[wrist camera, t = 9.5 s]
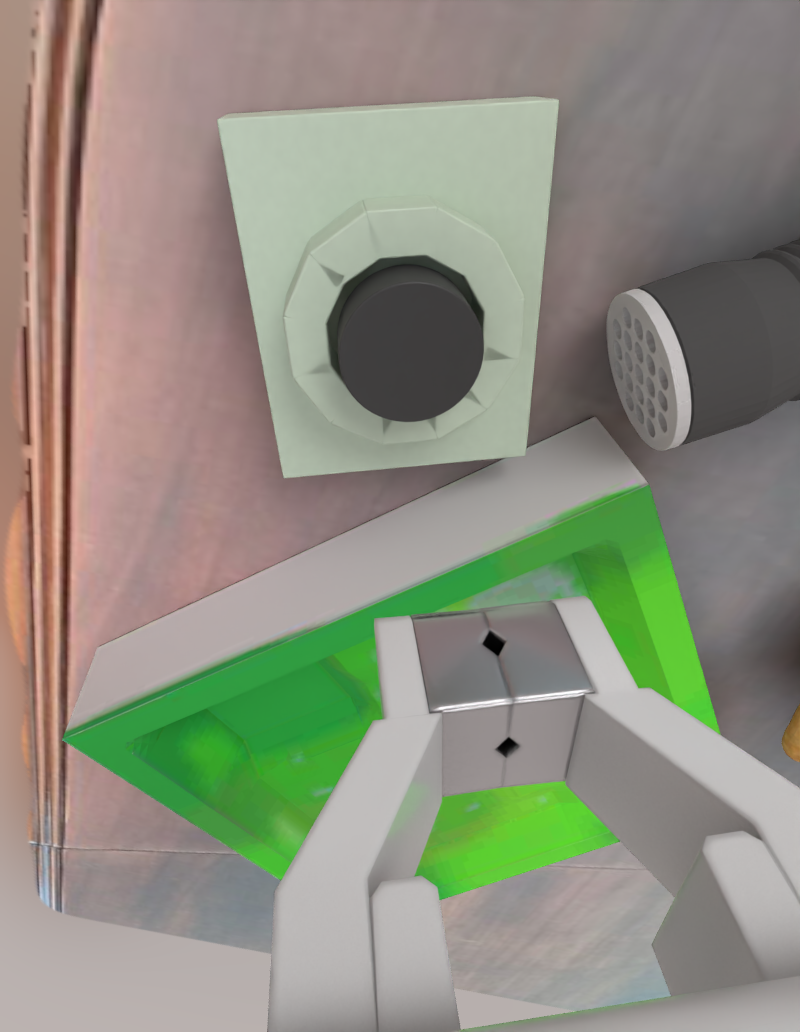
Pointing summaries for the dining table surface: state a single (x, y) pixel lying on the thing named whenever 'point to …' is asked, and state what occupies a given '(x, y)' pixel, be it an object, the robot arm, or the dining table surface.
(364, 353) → the bell button
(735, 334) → the flashlight
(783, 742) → the ceramic bowl
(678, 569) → the dining table surface
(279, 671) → the tray
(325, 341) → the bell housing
